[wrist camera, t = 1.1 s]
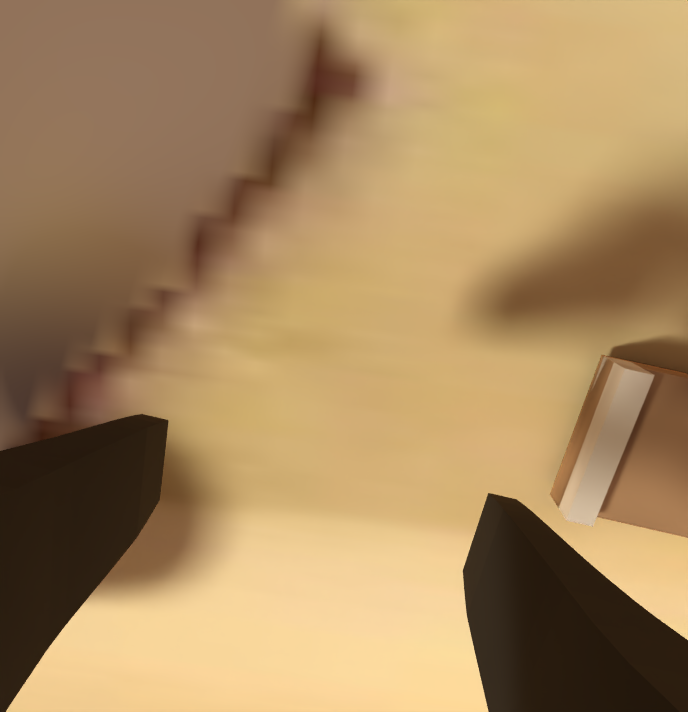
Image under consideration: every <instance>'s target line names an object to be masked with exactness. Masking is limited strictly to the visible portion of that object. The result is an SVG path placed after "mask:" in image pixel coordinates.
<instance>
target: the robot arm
mask: <svg viewBox="0 0 688 712" xmlns="http://www.w3.org/2000/svg"><path fill="white" fill-rule="evenodd" d="M167 429H168V420H165V419H161V418H157V417H152V416H148V415H143V414H140V415H134V416H129V417H125V418H121V419H117V420H114V421H110V422H107V423H103V424H100V425H96V426H93V427H89V428H86V429H82V430H79V431H75V432H72V433H68V434H65V435H61V436H58V437H54V438H50V439H46V440H42V441H38V442H34V443H30V444H26V445H23V446H19V447H15V448H11V449H7V450H3V451H0V712H6V710H7V709H8V707H9V706H10V704H11V702H12V701H13V699H14V698H15V696H16V695H17V693H18V692H19V691H20V689H21V688H22V686H23V685H24V683H25V682H26V680H27V679H28V677H29V676H30V674H31V673H32V671H33V670H34V668H35V667H36V665H37V664H38V662H39V661H40V659H41V658H42V656H43V655H44V653H45V652H46V650H47V649H48V648H49V646H50V645H51V644H52V642H53V641H54V640H55V638H56V637H57V636H58V634H59V633H60V632H61V630H62V629H63V628H64V626H65V625H66V624H67V623H68V622H69V620H70V619H71V618H72V617H73V615H74V614H75V613H76V612H77V611H78V609H79V608H80V607H81V606H82V604H83V603H84V602H85V601H86V600H87V598H88V597H89V596H90V595H91V593H92V592H93V591H94V590H95V589H96V587H97V586H98V585H99V584H100V582H101V581H102V580H103V579H104V578H105V576H106V575H107V574H108V573H109V571H110V570H111V569H112V568H113V567H114V565H115V564H116V563H117V562H118V560H119V559H120V558H121V557H122V555H123V554H124V553H125V552H126V550H127V549H128V548H129V547H130V545H131V544H132V543H133V542H134V540H135V539H136V538H137V536H138V535H139V533H140V531H141V530H142V528H143V527H144V525H145V524H146V522H147V520H148V519H149V517H150V515H151V514H152V512H153V510H154V509H155V507H156V505H157V503H158V502H159V500H160V492H161V483H162V474H163V465H164V456H165V447H166V438H167ZM463 578H464V591H465V601H466V611H467V618H468V622H469V627H470V632H471V636H472V641H473V645H474V650H475V654H476V659H477V663H478V667H479V672H480V676H481V680H482V685H483V689H484V693H485V698H486V702H487V706H488V711H489V712H688V640H687V639H685V638H684V637H682V636H681V635H680V634H678V633H677V632H676V631H674V630H673V629H671V628H670V627H669V626H667V625H666V624H665V623H663V622H662V621H660V620H659V619H658V618H656V617H655V616H653V615H652V614H651V613H650V612H648V611H647V610H646V609H644V608H643V607H642V606H640V605H639V604H638V603H637V602H635V601H634V600H633V599H632V598H630V597H629V596H628V595H627V594H626V593H624V592H623V591H622V590H621V589H619V588H618V587H617V586H616V585H615V584H613V583H612V582H611V581H610V580H608V579H607V578H606V577H605V576H604V575H603V574H601V573H600V572H599V571H598V570H597V569H596V568H594V567H593V566H592V565H591V564H590V563H589V562H587V561H586V560H585V559H584V558H583V557H582V556H581V555H580V554H578V553H577V552H576V551H575V550H574V549H573V548H572V547H571V546H570V545H568V544H567V543H566V542H565V541H564V540H563V539H562V538H561V537H560V536H559V535H557V534H556V533H555V532H554V531H553V530H552V529H551V528H550V527H549V526H548V525H546V524H545V523H544V522H543V521H542V520H541V519H540V518H539V517H538V516H536V515H535V514H534V513H533V512H532V511H531V510H529V509H528V508H527V507H526V506H525V505H523V504H522V503H521V502H519V501H518V500H516V499H512V498H508V497H504V496H499V495H495V494H490V493H488V496H487V499H486V502H485V505H484V508H483V511H482V514H481V517H480V520H479V523H478V526H477V529H476V532H475V535H474V538H473V541H472V544H471V547H470V550H469V553H468V557H467V560H466V563H465V566H464V569H463Z"/></svg>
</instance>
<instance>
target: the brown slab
mask: <svg viewBox="0 0 688 712" xmlns="http://www.w3.org/2000/svg"><path fill="white" fill-rule="evenodd" d="M550 495H551V497H552V498H553V500H554V501H555V503H556V505H557V506H558V508H559V510H560V511H561V513H562V515H563V516H564V518H565V520H566V521H571V522H575V523H579V524H584V525H588V526H592V527H593V525H594V523H595V520H596V518H597V517H599V518H604V519H608V520H613V521H617V522H621V523H626V524H630V525H635V526H639V527H643V528H648V529H652V530H657V531H661V532H665V533H670V534H674V535H678V536H683V537H687V538H688V374H687V373H683V372H678V371H674V370H669V369H665V368H660V367H655V366H651V365H646V364H642V363H637V362H633V361H628V360H623V359H619V358H614V357H610V356H605V355H601V358H600V361H599V364H598V366H597V369H596V372H595V374H594V377H593V380H592V382H591V385H590V388H589V390H588V393H587V396H586V399H585V401H584V404H583V407H582V409H581V412H580V415H579V417H578V420H577V423H576V426H575V428H574V431H573V434H572V436H571V439H570V442H569V444H568V447H567V450H566V452H565V455H564V458H563V461H562V463H561V466H560V469H559V471H558V474H557V477H556V479H555V482H554V485H553V488H552V490H551V493H550Z"/></svg>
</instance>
